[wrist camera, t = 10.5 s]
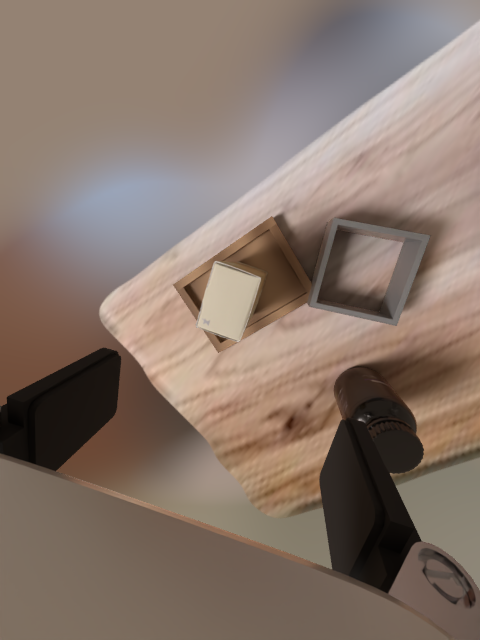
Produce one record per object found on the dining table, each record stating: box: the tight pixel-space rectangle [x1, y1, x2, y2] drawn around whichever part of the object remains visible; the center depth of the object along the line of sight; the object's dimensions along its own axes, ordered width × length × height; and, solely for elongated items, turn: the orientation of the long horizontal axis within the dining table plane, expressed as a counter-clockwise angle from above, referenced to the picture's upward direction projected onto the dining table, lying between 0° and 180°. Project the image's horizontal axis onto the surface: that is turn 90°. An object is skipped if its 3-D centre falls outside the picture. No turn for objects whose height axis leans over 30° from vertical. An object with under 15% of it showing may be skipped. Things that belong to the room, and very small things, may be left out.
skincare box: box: [196, 261, 267, 342], centre depth 27 cm, size 6×4×12 cm
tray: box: [174, 217, 319, 353], centre depth 33 cm, size 15×11×1 cm
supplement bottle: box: [334, 367, 424, 474], centre depth 29 cm, size 7×7×12 cm
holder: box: [307, 218, 431, 326], centre depth 29 cm, size 10×10×4 cm
